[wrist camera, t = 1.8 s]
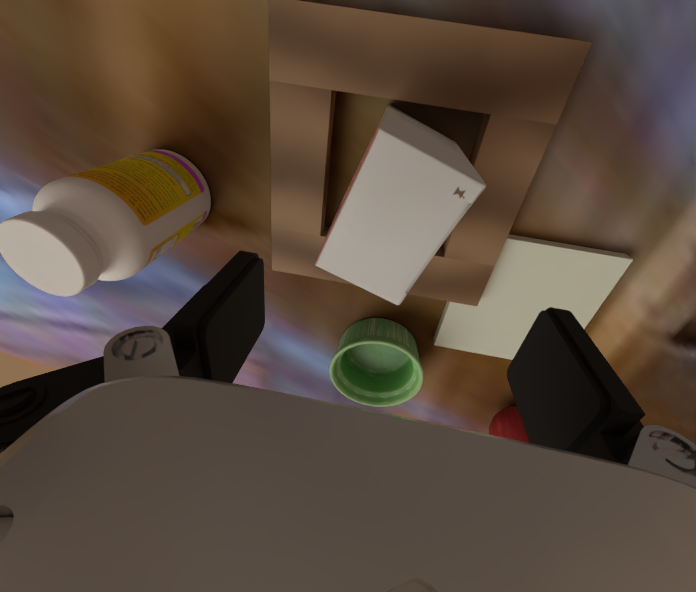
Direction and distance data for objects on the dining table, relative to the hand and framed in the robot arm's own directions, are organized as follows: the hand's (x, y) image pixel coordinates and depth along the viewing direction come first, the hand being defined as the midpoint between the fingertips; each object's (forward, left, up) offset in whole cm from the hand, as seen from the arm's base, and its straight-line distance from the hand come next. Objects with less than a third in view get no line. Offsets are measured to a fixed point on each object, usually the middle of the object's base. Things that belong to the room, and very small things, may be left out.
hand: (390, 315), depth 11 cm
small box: (0, 0, -17) cm, 17 cm away
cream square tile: (+9, +13, -17) cm, 23 cm away
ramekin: (+17, +2, -17) cm, 24 cm away
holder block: (0, 0, -17) cm, 17 cm away
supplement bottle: (+4, -18, -17) cm, 25 cm away
